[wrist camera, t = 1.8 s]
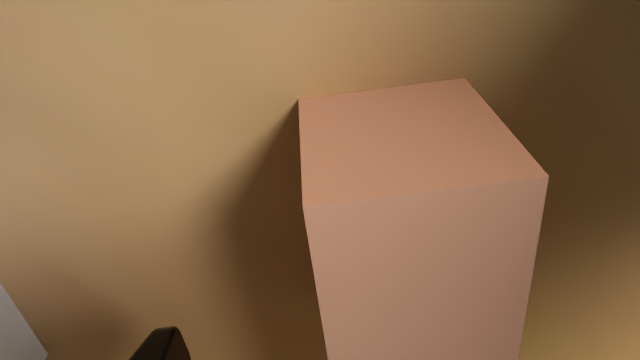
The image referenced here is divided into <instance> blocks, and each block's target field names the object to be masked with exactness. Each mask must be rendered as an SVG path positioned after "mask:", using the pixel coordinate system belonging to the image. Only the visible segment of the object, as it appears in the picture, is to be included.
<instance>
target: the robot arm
mask: <svg viewBox="0 0 640 360" xmlns="http://www.w3.org/2000/svg"><path fill="white" fill-rule="evenodd" d="M129 360H191V358H190V354H189V351H188V349H187V347H186V344H185V342H184V339H183V337H182V335H181V332H180V330H179V329H178V328H177V327H174V326H173V327H165V328H158V329H155V330H154V331H152V332H151V333H150V335H149V336H148V337H147V338H146V339H145V341H144V342H143V343H142V344H141V346H140V347H139V348H138V349H137V350H136V352H135V353H134V354H133V355H132V357H131V358H130V359H129Z"/></svg>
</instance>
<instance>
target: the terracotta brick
mask: <svg viewBox="0 0 640 360" xmlns="http://www.w3.org/2000/svg"><path fill="white" fill-rule="evenodd" d="M298 104H299V129H300V154H301V179H302V205H303V212H304V218H305V225H306V231H307V237H308V243H309V249H310V255H311V261H312V267H313V273H314V279H315V285H316V291H317V297H318V303H319V309H320V315H321V321H322V327H323V333H324V339H325V345H326V351H327V357H328V360H518V358H519V352H520V346H521V340H522V334H523V329H524V323H525V317H526V311H527V305H528V299H529V293H530V287H531V281H532V275H533V269H534V263H535V257H536V251H537V245H538V239H539V233H540V227H541V221H542V215H543V209H544V203H545V198H546V192H547V186H548V180H549V176H548V174H547V173H546V172H545V171H544V170H543V168H542V167H541V166H540V165H539V164H538V163H537V161H536V160H535V159H534V158H533V157H532V156H531V154H530V153H529V152H528V151H527V150H526V149H525V147H524V146H523V145H522V144H521V143H520V142H519V140H518V139H517V138H516V137H515V136H514V135H513V133H512V132H511V131H510V130H509V129H508V128H507V126H506V125H505V124H504V123H503V122H502V121H501V119H500V118H499V117H498V116H497V115H496V113H495V112H494V111H493V110H492V109H491V108H490V106H489V105H488V104H487V103H486V102H485V101H484V99H483V98H482V97H481V96H480V95H479V94H478V92H477V91H476V90H475V89H474V88H473V87H472V85H471V84H470V83H469V82H468V81H467V80H466V78H458V79H450V80H443V81H435V82H427V83H419V84H412V85H404V86H396V87H389V88H381V89H373V90H366V91H358V92H350V93H343V94H335V95H327V96H320V97H312V98H304V99H298Z"/></svg>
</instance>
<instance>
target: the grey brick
mask: <svg viewBox="0 0 640 360" xmlns="http://www.w3.org/2000/svg"><path fill="white" fill-rule="evenodd" d="M47 355H48V353H47V352H46V350H45V349H44V347H43V346H42V344H41V343H40V341H39V340H38V338H37V337H36V335H35V334H34V332H33V331H32V329H31V328H30V326H29V325H28V323H27V322H26V320H25V319H24V317H23V316H22V314H21V313H20V311H19V310H18V308H17V307H16V305H15V304H14V302H13V301H12V299H11V298H10V296H9V295H8V293H7V292H6V290H5V289H4V287H3V286H2V284H1V283H0V360H45V359H46V357H47Z"/></svg>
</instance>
